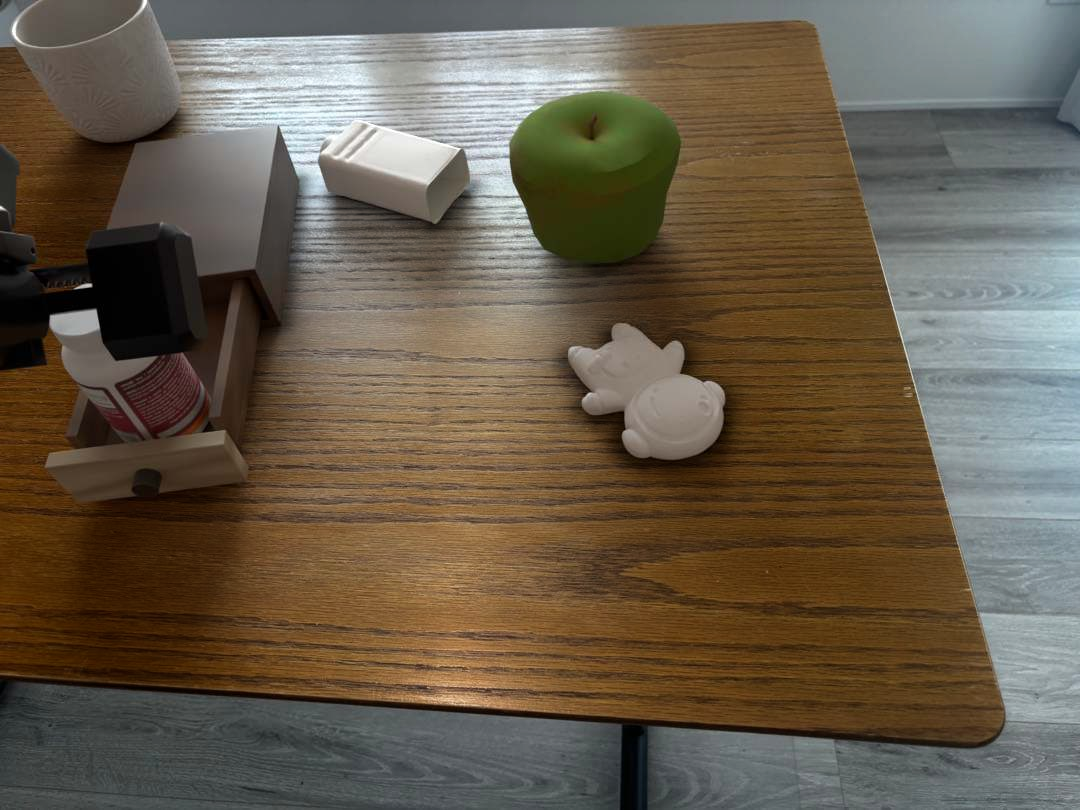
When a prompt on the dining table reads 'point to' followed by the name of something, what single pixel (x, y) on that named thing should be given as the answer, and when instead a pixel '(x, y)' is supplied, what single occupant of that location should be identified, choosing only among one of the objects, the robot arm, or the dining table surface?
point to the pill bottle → (132, 383)
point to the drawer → (180, 460)
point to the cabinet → (220, 204)
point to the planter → (100, 65)
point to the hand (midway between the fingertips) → (90, 312)
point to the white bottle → (394, 170)
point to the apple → (595, 174)
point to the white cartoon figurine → (650, 395)
